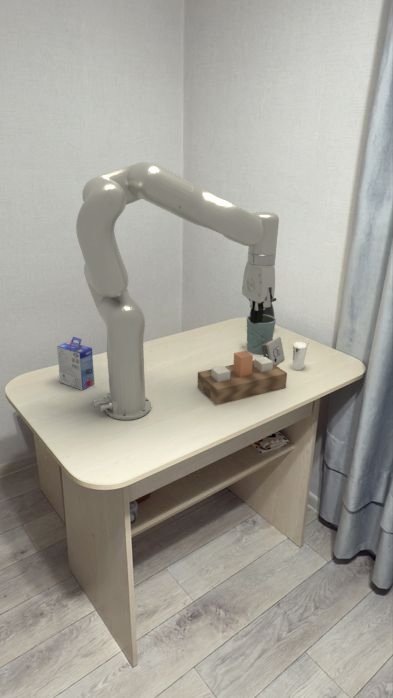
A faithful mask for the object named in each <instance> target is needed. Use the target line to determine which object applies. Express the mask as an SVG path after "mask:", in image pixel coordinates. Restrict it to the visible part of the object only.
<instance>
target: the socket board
mask: <svg viewBox="0 0 393 698" xmlns="http://www.w3.org/2000/svg"><path fill="white" fill-rule="evenodd" d="M254 362H255V359H253V362H252V375H248V376H243V377H239V376H238V375H236V374H235V373H234V372H233V366H234V364H231V365H225V366H224V365H223V366H224V367H225V368H227V369H228V370H229V371H230V380H226V381H221V382H217V381H215V380H214V379H213V378H212V377H211V371H212V368H211V369H207V370H206V369H205V370H202V371H198V372H197V388H198V389H199V390H200V392H202V393H203V394H204V395H205V396H206V397H208V399H209V400H210V401H212V402H213V403H214V404H215V405H216V406H219V405H221V404H222V405H223V404H226V403H230V402H235V401H238V400H242V399H247V398H250V397H254V396H258V395H262V394H266V393H271V392H274V391H278V390H282V389H286V387H287V380H288V379H287V378H288V372H286V371H285V370H283V369H282V368H281V367H278V366H277V365H274V364H273V369H272V370H270V371H265V372H260V371H259V370H257V369H256V368H254Z"/></svg>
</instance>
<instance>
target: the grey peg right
mask: <svg viewBox="0 0 393 698" xmlns="http://www.w3.org/2000/svg"><path fill="white" fill-rule="evenodd" d="M254 360H255V362H254V368H256V369H257V370H259V371H260V372H265V371H270V370H272V369H273V361H271V360H270V359H268V358H267V357H259V358H255V359H254Z"/></svg>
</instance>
